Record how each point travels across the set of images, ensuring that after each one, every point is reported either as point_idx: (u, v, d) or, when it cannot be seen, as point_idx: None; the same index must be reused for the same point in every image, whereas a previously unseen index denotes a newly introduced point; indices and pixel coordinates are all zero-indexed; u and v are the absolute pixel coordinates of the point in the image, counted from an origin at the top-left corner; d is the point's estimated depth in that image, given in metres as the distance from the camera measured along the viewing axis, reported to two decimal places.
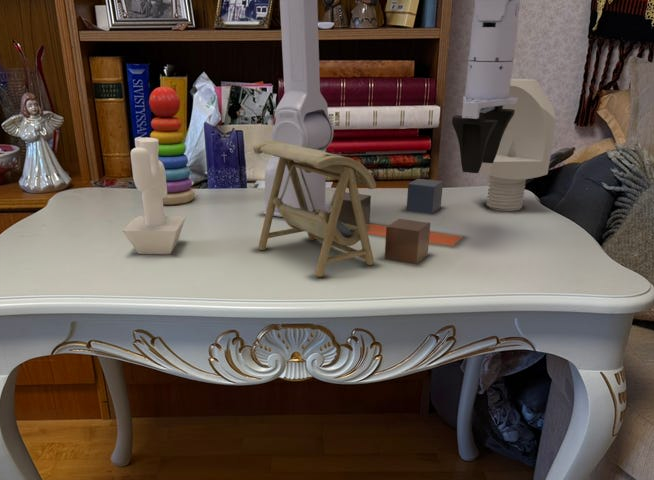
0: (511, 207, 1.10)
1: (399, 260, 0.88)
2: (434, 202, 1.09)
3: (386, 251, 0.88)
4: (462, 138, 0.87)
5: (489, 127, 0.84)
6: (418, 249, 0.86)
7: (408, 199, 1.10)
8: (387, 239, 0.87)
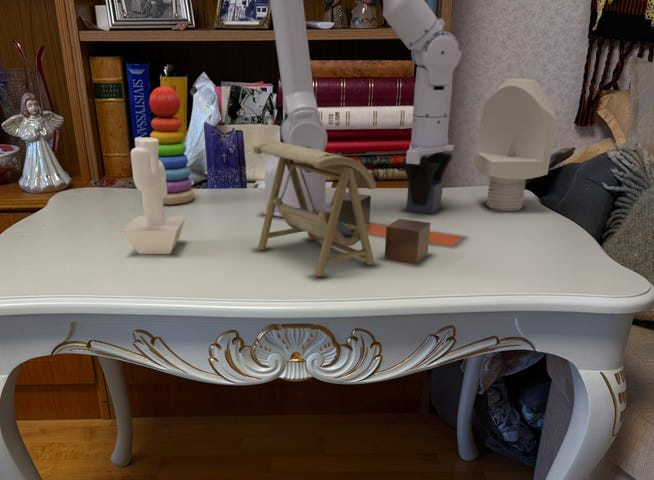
0: (511, 207, 1.10)
1: (399, 260, 0.88)
2: (434, 202, 1.09)
3: (386, 251, 0.88)
4: (411, 177, 1.07)
5: (431, 169, 1.04)
6: (418, 249, 0.86)
7: (408, 199, 1.10)
8: (387, 239, 0.87)
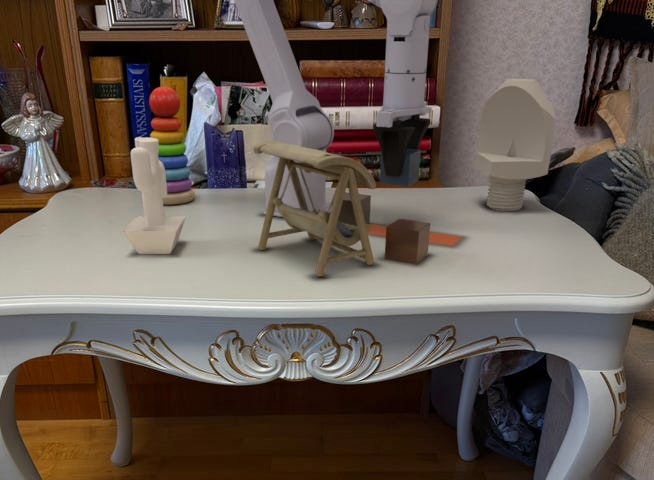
0: (511, 207, 1.10)
1: (399, 260, 0.88)
2: (410, 173, 0.96)
3: (386, 251, 0.88)
4: (383, 144, 0.94)
5: (406, 134, 0.91)
6: (418, 249, 0.86)
7: (381, 170, 0.97)
8: (387, 239, 0.87)
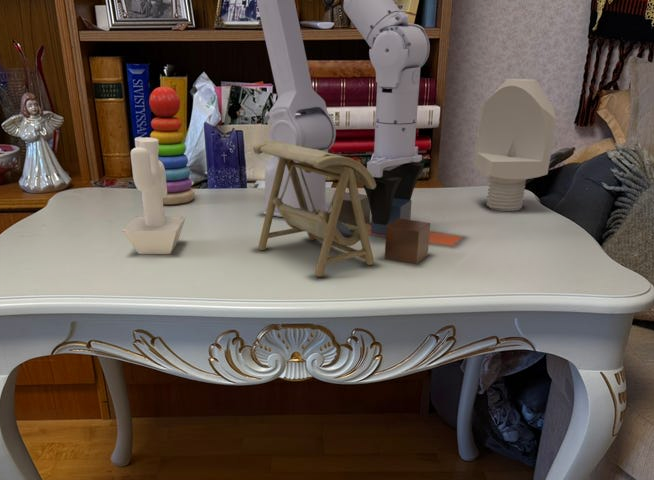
0: (511, 207, 1.10)
1: (399, 260, 0.88)
2: None
3: (386, 251, 0.88)
4: (370, 193, 0.94)
5: (392, 185, 0.91)
6: (418, 249, 0.86)
7: (372, 220, 0.98)
8: (387, 239, 0.87)
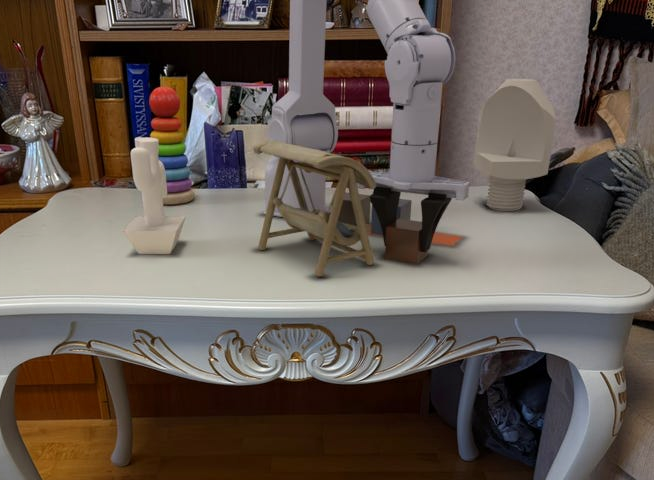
0: (511, 207, 1.10)
1: (399, 260, 0.88)
2: None
3: (386, 251, 0.88)
4: None
5: (370, 201, 0.86)
6: (418, 249, 0.86)
7: (372, 220, 0.98)
8: (387, 239, 0.87)
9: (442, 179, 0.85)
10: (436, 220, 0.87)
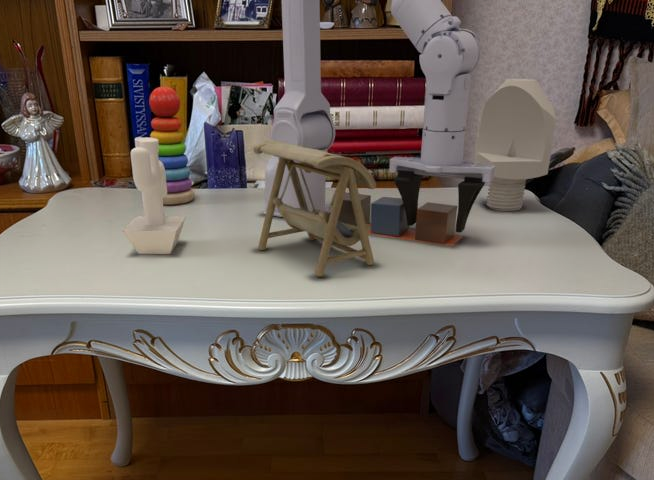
0: (511, 207, 1.10)
1: (428, 240, 0.95)
2: (401, 223, 0.97)
3: (416, 232, 0.96)
4: None
5: (395, 183, 0.94)
6: (446, 229, 0.94)
7: (372, 220, 0.98)
8: (417, 220, 0.95)
9: (469, 163, 0.92)
10: (470, 202, 0.94)
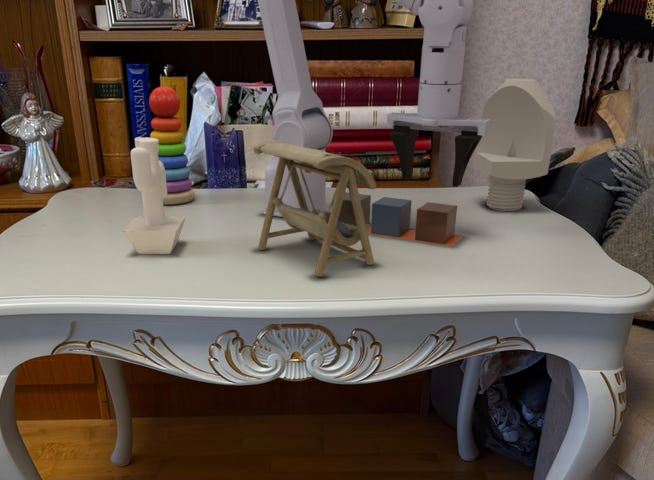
0: (511, 207, 1.10)
1: (428, 240, 0.95)
2: (401, 224, 0.97)
3: (416, 232, 0.96)
4: None
5: (391, 137, 0.96)
6: (446, 229, 0.94)
7: (372, 220, 0.98)
8: (417, 220, 0.95)
9: (465, 118, 0.94)
10: (467, 157, 0.95)
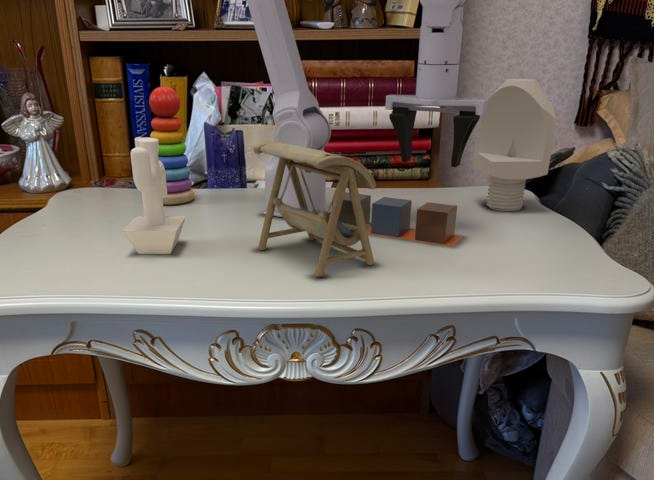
0: (511, 207, 1.10)
1: (428, 240, 0.95)
2: (401, 224, 0.97)
3: (416, 232, 0.96)
4: None
5: (390, 119, 0.97)
6: (446, 229, 0.94)
7: (372, 220, 0.98)
8: (417, 220, 0.95)
9: (463, 99, 0.95)
10: (465, 138, 0.96)
